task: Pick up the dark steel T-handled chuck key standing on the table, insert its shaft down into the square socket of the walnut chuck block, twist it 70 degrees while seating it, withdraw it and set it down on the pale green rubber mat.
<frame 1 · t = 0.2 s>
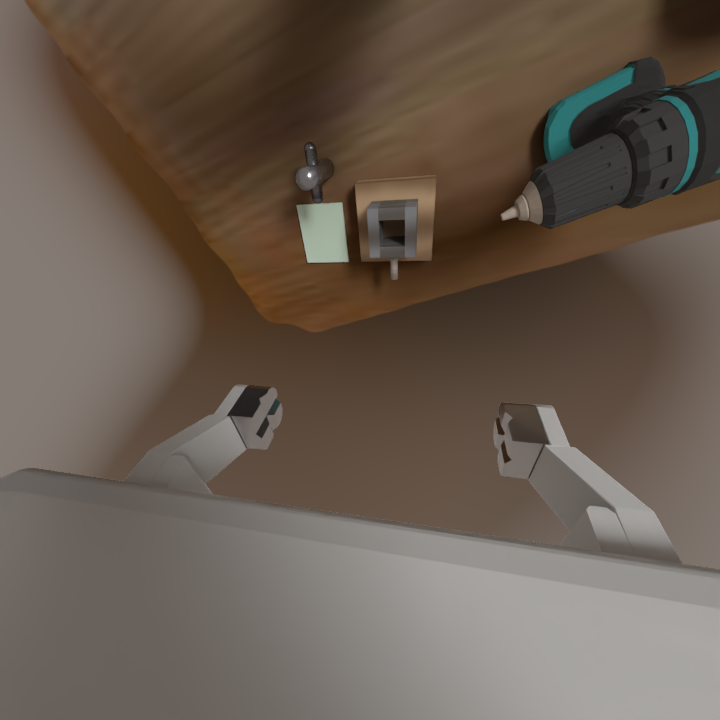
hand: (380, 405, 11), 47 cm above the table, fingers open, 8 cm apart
mat: (324, 234, 55), on the table
power drill: (577, 130, 41), on the table
chuck key: (326, 168, 49), on the table
chuck block: (396, 219, 51), on the table
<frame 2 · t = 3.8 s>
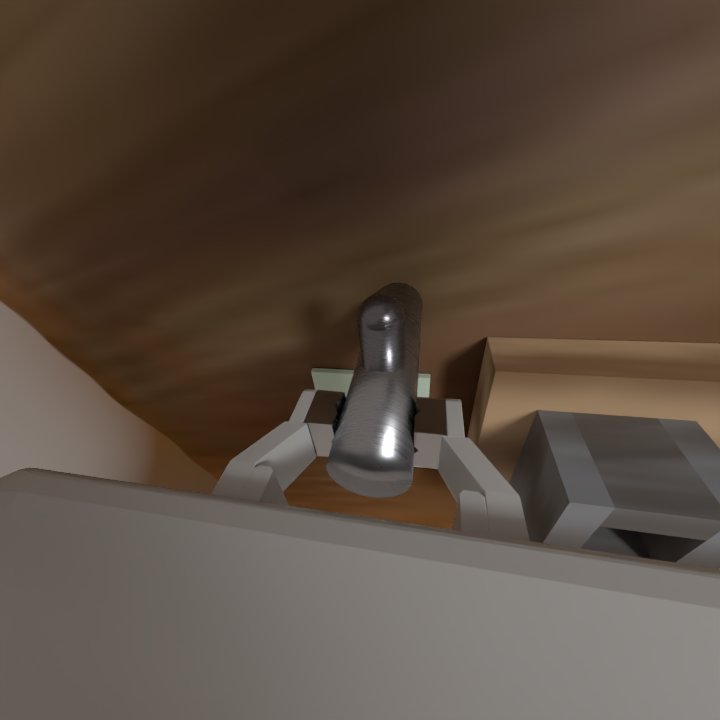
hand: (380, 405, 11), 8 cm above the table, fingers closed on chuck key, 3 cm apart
mat: (373, 420, 24), on the table
chuck key: (398, 304, 17), on the table, touching gripper
chuck block: (570, 416, 20), on the table
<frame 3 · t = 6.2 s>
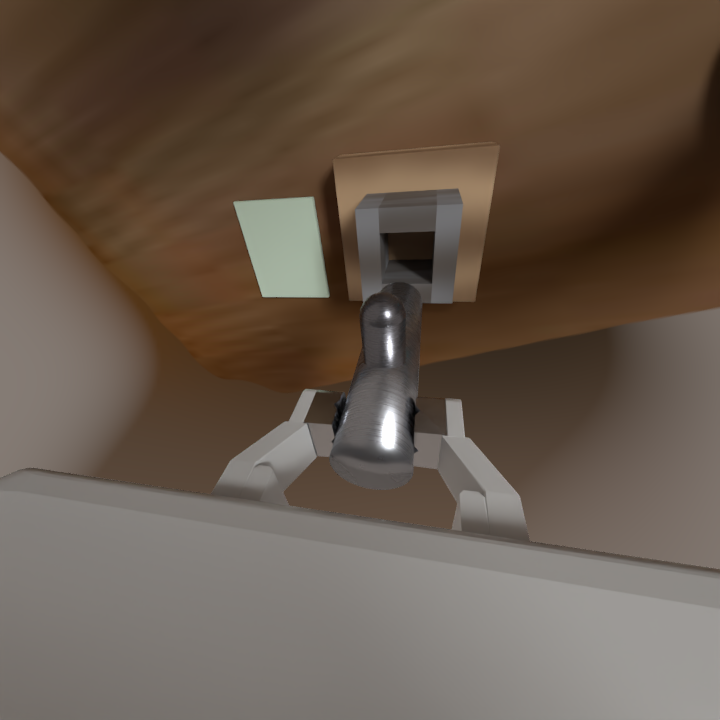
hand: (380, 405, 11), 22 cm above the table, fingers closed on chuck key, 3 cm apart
mat: (285, 251, 32), on the table
chuck key: (399, 303, 17), point 14 cm above the table, touching gripper
chuck block: (412, 227, 28), on the table
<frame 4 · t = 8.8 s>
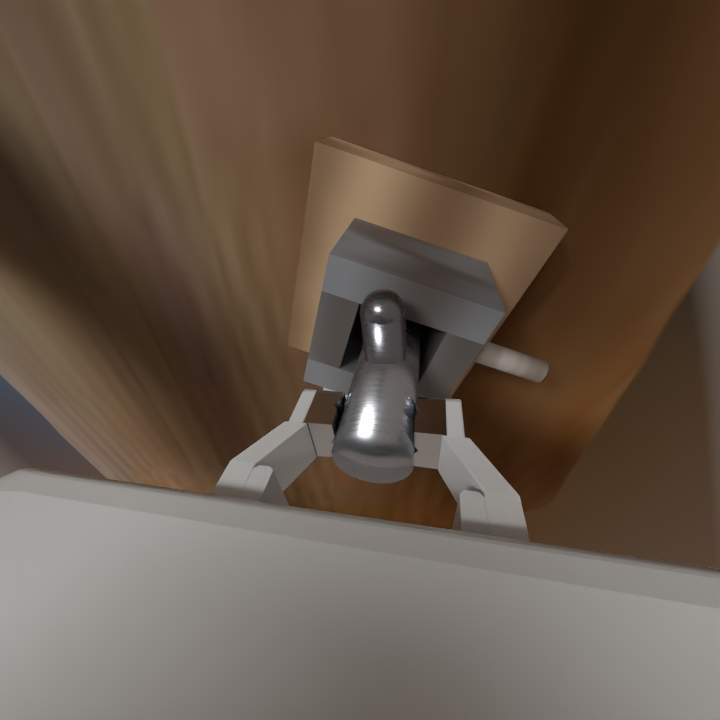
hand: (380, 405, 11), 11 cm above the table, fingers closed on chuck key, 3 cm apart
chuck key: (399, 299, 18), point 3 cm above the table, touching chuck block, gripper
chuck block: (402, 277, 20), on the table
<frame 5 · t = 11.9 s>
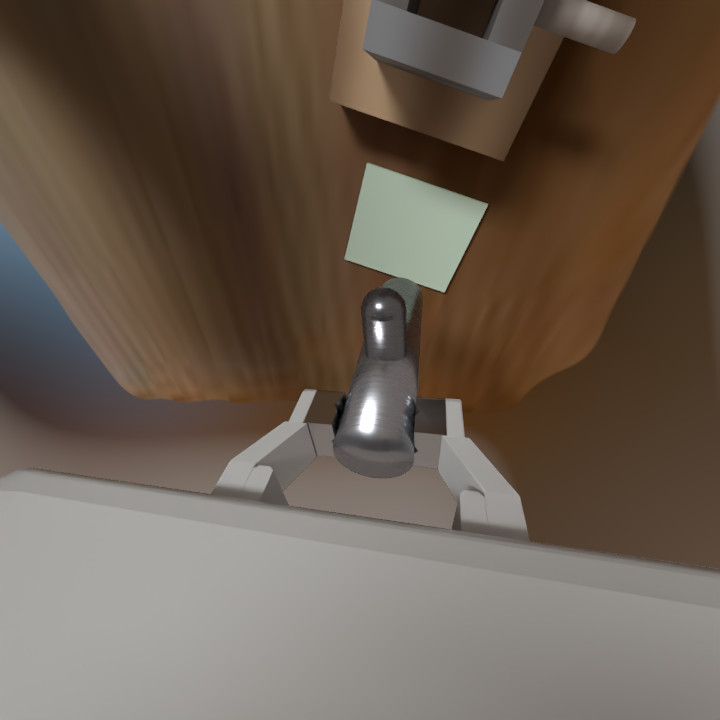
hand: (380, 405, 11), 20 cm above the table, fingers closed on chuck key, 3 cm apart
mat: (409, 233, 27), on the table
chuck key: (399, 298, 18), point 12 cm above the table, touching gripper
chuck block: (456, 8, 18), on the table
when the fingers open (9 cm above the table, at t = 14.1 s): chuck key stays where it is, resting on mat.
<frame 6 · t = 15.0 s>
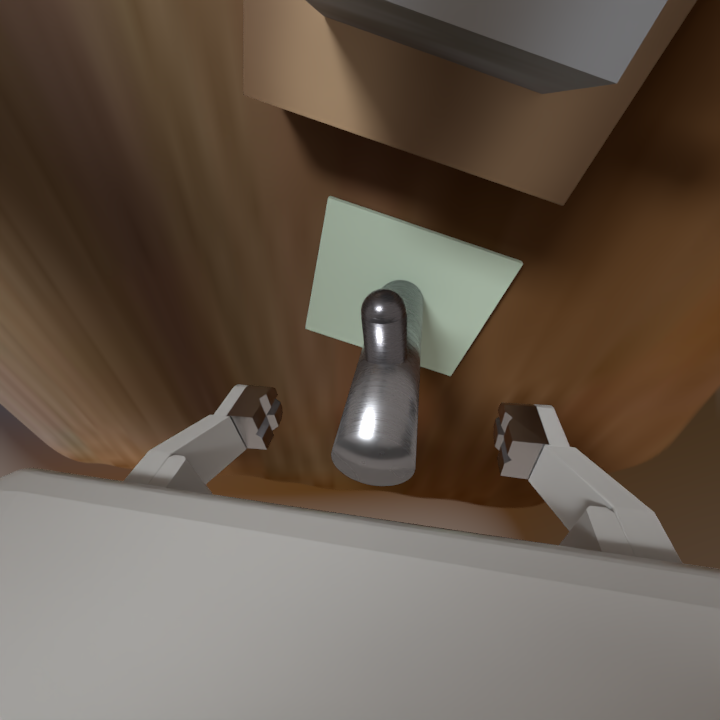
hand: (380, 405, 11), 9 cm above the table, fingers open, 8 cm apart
mat: (399, 297, 18), on the table
chuck key: (400, 301, 17), resting on mat
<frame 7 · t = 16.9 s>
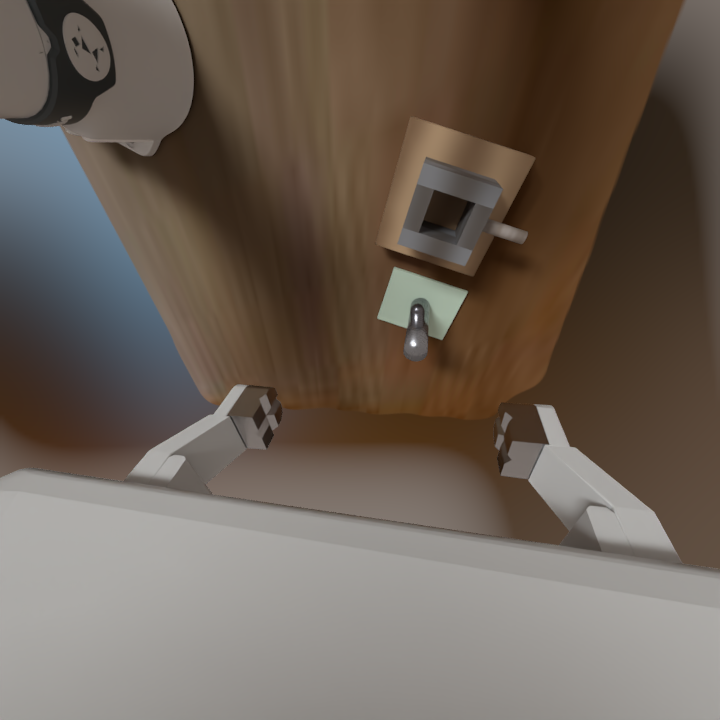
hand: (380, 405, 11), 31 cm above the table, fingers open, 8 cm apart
mat: (419, 304, 42), on the table
chuck key: (420, 306, 42), resting on mat
chuck block: (445, 200, 34), on the table
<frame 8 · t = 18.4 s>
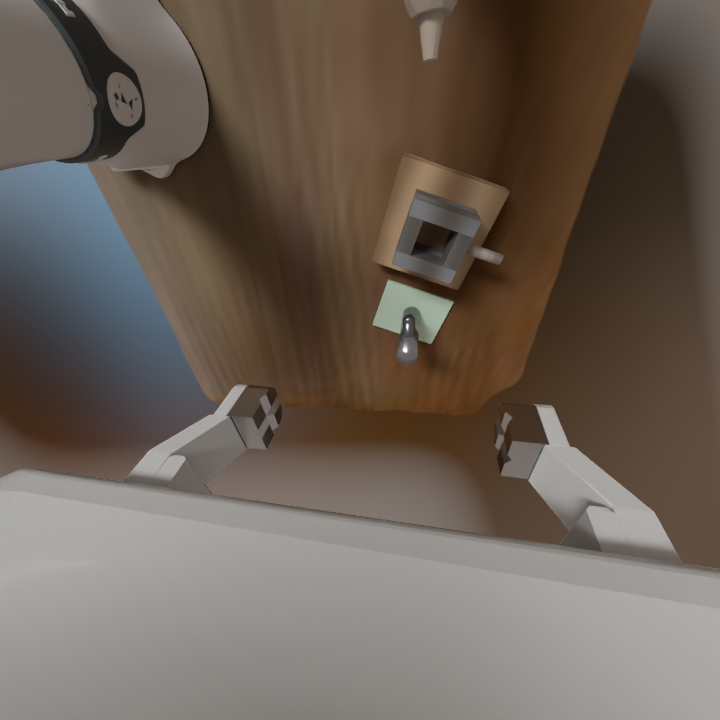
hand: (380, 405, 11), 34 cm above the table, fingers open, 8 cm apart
mat: (411, 312, 47), on the table
chuck key: (411, 314, 47), resting on mat
chuck block: (433, 223, 39), on the table
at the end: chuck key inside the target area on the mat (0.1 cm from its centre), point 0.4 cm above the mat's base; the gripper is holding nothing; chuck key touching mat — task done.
